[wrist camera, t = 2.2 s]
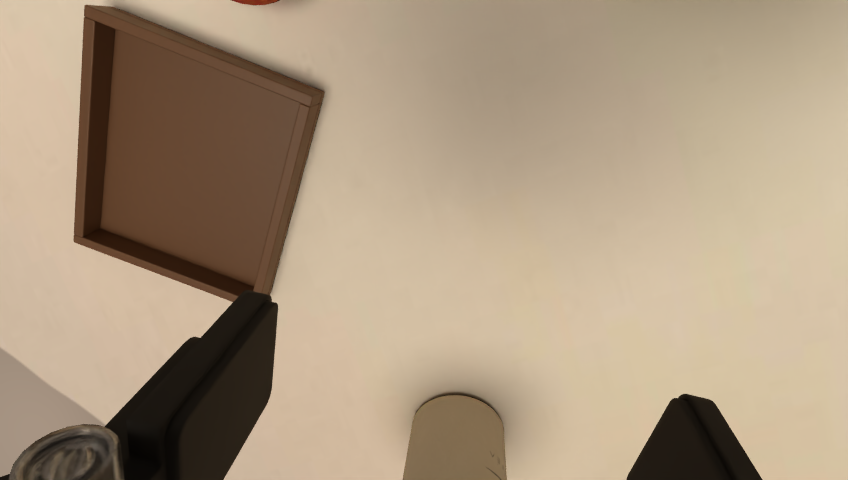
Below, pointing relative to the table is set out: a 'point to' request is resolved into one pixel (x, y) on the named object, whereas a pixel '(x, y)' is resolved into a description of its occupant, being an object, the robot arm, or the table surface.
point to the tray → (186, 155)
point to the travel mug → (456, 441)
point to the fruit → (255, 2)
